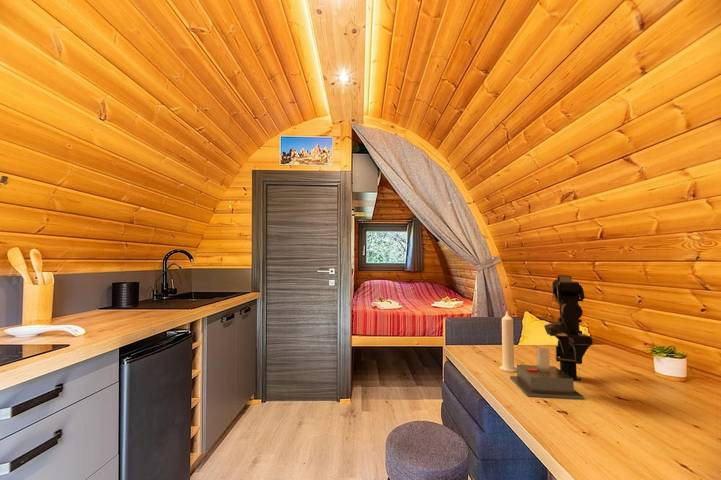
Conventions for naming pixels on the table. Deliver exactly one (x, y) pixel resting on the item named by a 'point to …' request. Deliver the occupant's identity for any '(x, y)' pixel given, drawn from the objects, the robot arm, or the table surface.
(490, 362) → the table surface
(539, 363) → the post
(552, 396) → the stand
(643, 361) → the table surface
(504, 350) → the candle
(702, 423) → the table surface
